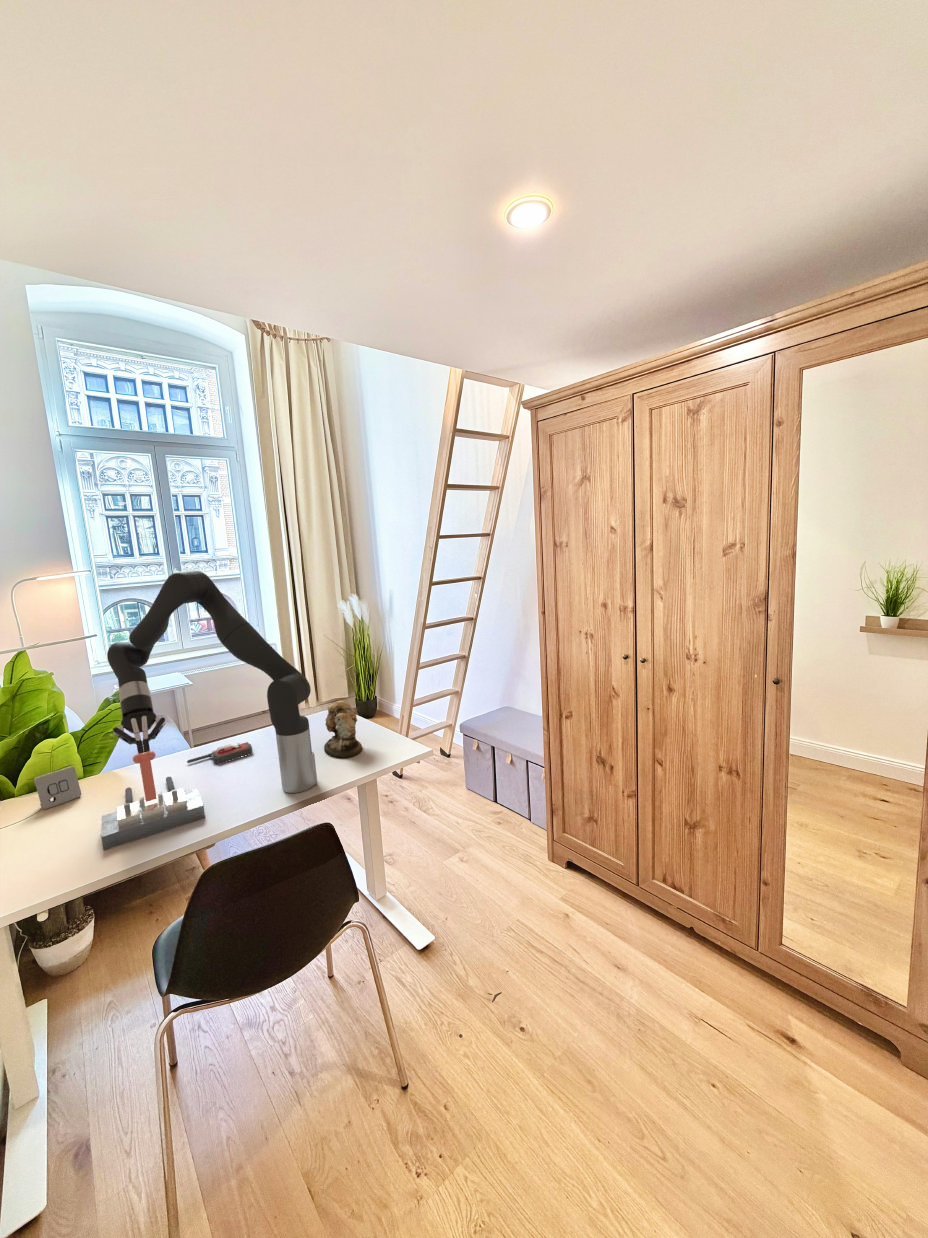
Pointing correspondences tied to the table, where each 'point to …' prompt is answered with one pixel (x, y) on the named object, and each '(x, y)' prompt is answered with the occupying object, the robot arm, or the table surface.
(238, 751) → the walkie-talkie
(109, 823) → the breaker panel
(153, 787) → the breaker lever
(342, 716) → the brown figurine
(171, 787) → the grey upright pegs
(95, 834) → the table surface
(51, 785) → the electrical switch
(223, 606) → the robot arm
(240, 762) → the table surface
